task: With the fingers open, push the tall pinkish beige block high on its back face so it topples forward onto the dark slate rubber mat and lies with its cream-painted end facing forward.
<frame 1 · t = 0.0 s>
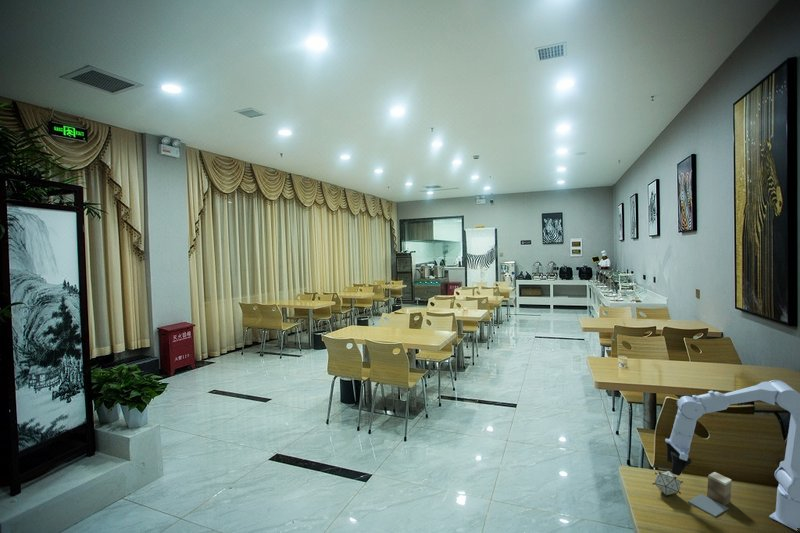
hand: (673, 467, 138), 11 cm above the table, tool pointing down, fingers open, 7 cm apart
pinkish beige block: (718, 499, 137), on the table
game die: (667, 494, 141), on the table
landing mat: (708, 505, 134), on the table
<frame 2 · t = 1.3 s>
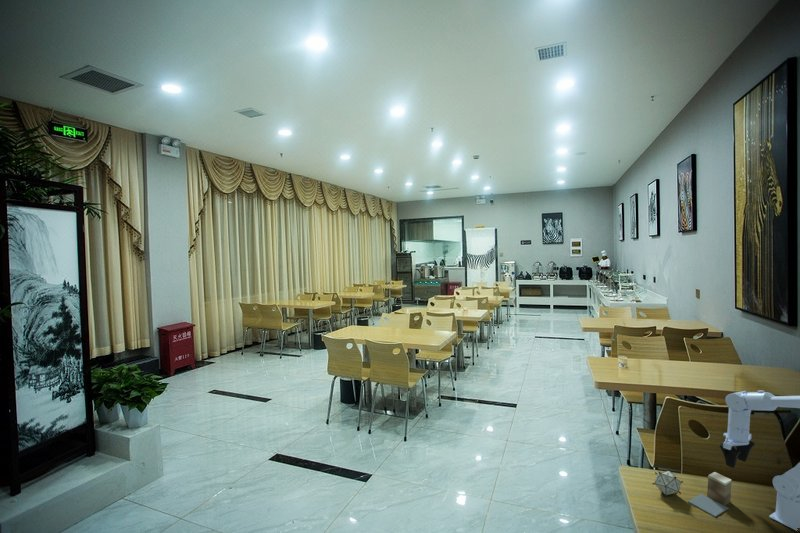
hand: (736, 463, 141), 10 cm above the table, tool pointing down, fingers open, 7 cm apart
nothing on the table moved.
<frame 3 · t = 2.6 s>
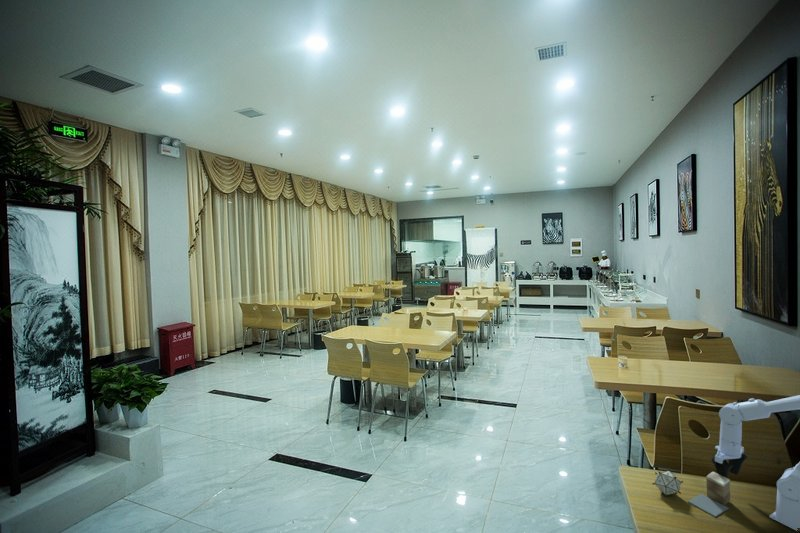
hand: (728, 476, 139), 7 cm above the table, tool pointing down, fingers open, 7 cm apart
pinkish beige block: (718, 498, 137), on the table, tilted 8°, touching gripper
everything else where it was.
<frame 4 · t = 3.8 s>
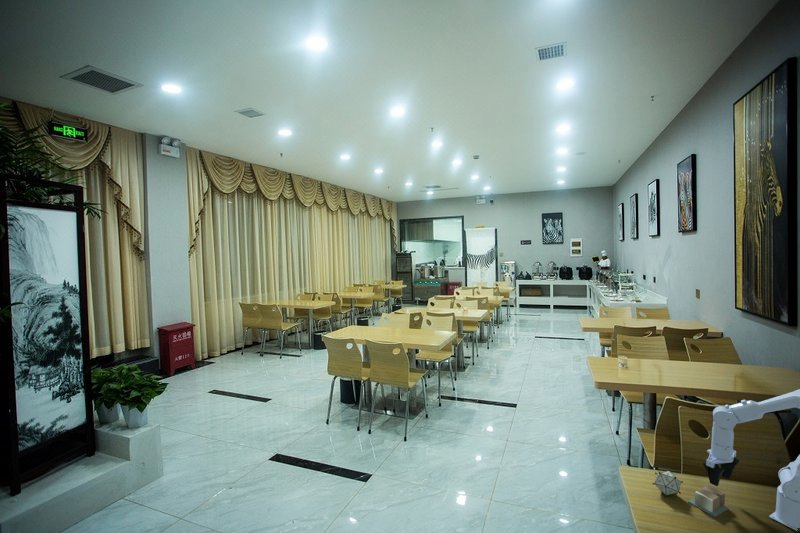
hand: (720, 481, 137), 7 cm above the table, tool pointing down, fingers open, 7 cm apart
pinkish beige block: (716, 494, 136), point 2 cm above the table, tilted 90°, touching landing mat
everything else where it was.
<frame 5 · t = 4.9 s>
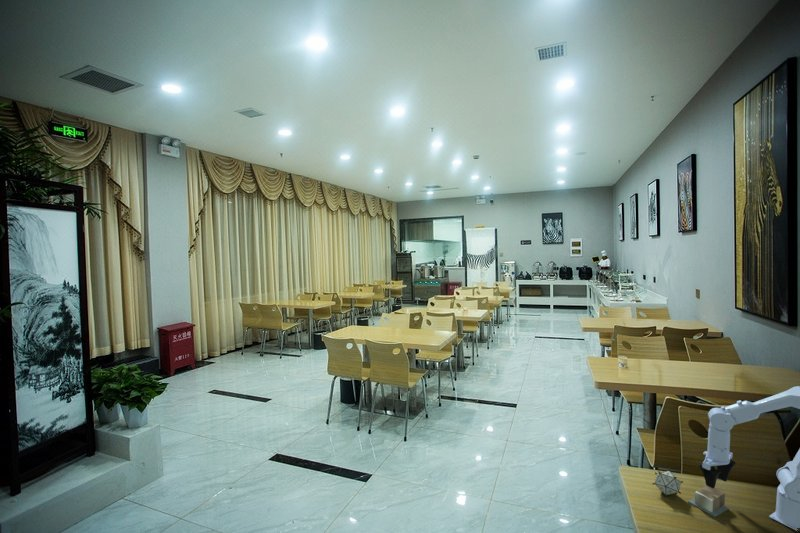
hand: (716, 483, 135), 6 cm above the table, tool pointing down, fingers open, 7 cm apart
nothing on the table moved.
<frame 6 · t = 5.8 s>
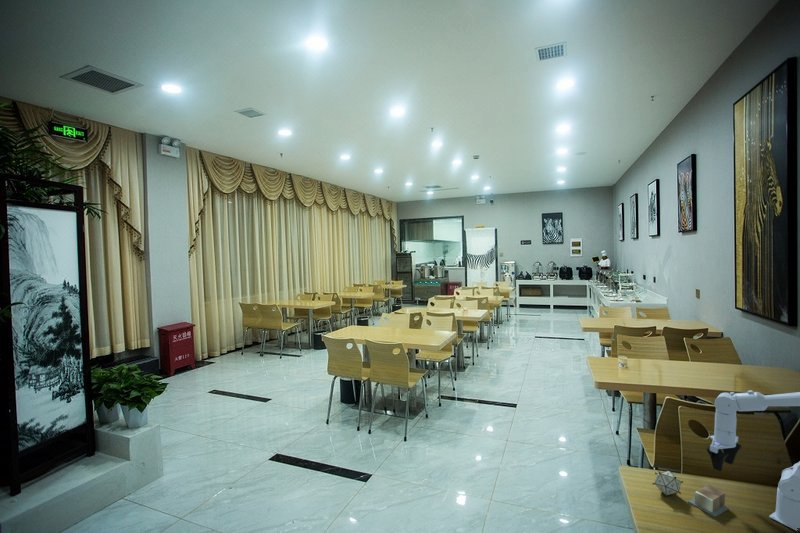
hand: (723, 466, 138), 10 cm above the table, tool pointing down, fingers open, 7 cm apart
nothing on the table moved.
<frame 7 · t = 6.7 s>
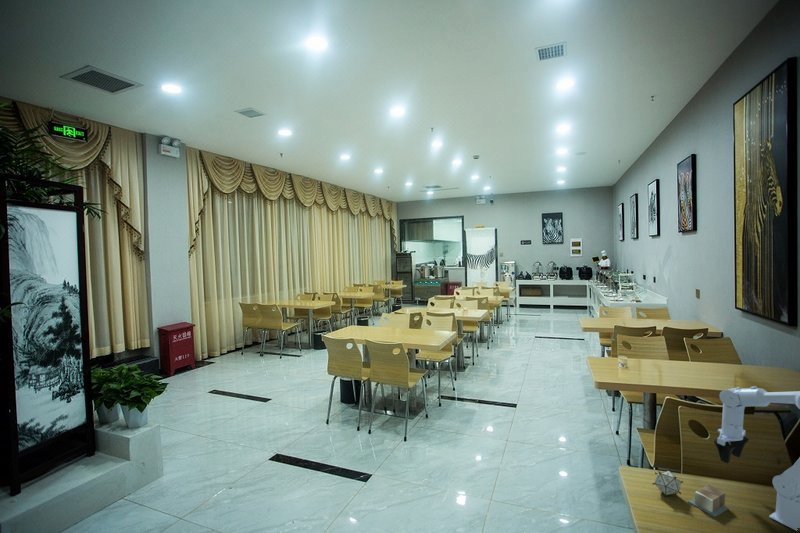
hand: (730, 458, 143), 10 cm above the table, tool pointing down, fingers open, 7 cm apart
nothing on the table moved.
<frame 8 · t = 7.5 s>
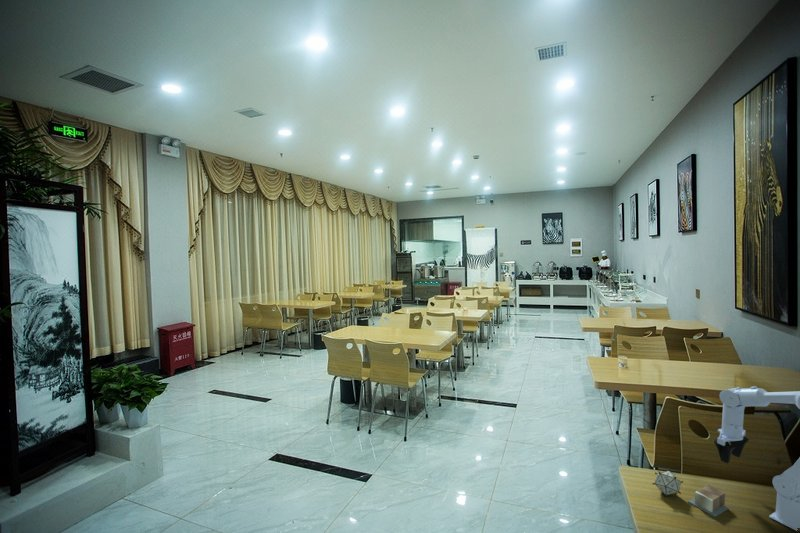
hand: (730, 458, 143), 10 cm above the table, tool pointing down, fingers open, 7 cm apart
nothing on the table moved.
at the end: pinkish beige block tilted 90°; pinkish beige block 1.3 cm from the target spot, point 2.4 cm above the table; pinkish beige block touching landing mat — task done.
